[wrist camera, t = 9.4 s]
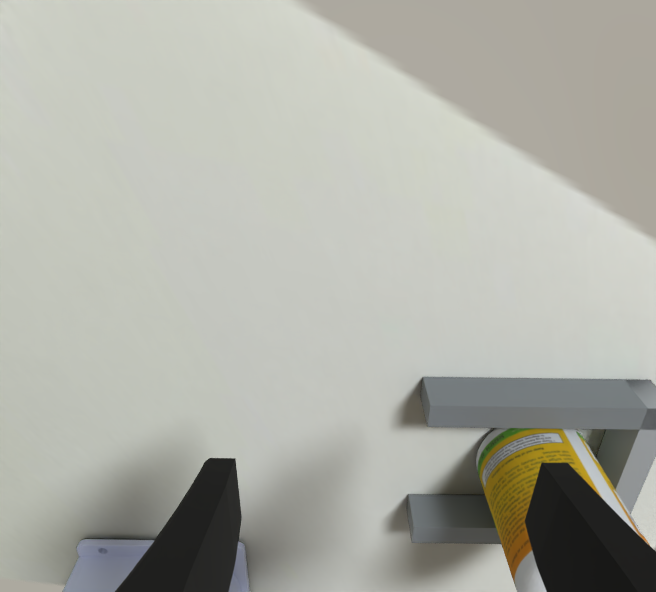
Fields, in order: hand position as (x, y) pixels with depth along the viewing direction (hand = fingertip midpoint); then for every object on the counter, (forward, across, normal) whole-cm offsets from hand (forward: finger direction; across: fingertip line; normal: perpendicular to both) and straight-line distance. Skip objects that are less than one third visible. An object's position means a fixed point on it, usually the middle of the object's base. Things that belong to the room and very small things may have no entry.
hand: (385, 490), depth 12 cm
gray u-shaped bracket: (+10, -9, +9) cm, 16 cm away
